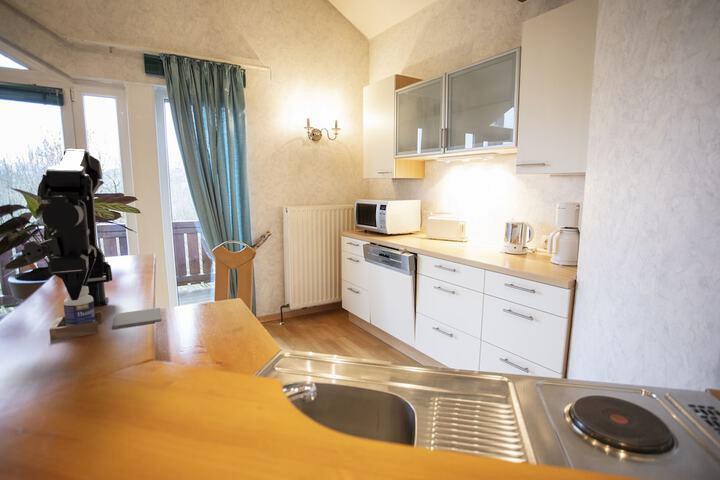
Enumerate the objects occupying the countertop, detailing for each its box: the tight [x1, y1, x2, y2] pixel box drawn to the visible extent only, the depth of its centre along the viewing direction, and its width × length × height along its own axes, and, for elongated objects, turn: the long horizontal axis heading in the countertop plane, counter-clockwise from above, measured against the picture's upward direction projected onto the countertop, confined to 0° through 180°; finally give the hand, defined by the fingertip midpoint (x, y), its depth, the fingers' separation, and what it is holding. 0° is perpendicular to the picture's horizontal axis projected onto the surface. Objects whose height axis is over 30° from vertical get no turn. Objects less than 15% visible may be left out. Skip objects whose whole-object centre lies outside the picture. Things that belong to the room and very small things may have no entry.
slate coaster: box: [111, 307, 162, 330], centre depth 91 cm, size 10×10×1 cm
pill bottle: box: [63, 286, 96, 326], centre depth 83 cm, size 5×5×10 cm
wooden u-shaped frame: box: [48, 310, 103, 342], centre depth 83 cm, size 9×8×2 cm
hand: (78, 294), depth 82 cm, fingers open, 9 cm apart
